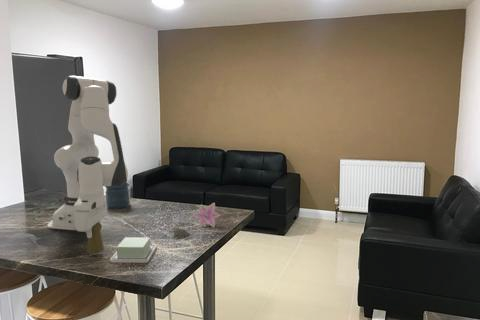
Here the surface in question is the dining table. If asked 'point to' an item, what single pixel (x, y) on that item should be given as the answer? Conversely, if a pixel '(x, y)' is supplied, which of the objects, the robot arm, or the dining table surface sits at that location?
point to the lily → (207, 215)
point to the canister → (117, 196)
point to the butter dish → (134, 250)
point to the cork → (95, 240)
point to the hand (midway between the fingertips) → (93, 234)
